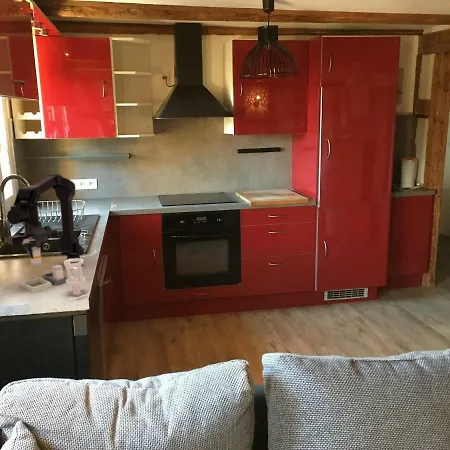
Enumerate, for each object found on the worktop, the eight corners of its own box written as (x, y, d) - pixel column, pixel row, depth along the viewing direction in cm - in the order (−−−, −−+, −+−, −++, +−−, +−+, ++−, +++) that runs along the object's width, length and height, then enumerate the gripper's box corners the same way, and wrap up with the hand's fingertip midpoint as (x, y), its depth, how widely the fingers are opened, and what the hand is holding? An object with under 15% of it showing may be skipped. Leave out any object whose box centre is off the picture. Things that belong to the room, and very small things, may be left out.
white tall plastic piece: (64, 297, 191) (59, 259, 188) (78, 291, 197) (74, 254, 193) (76, 300, 187) (71, 262, 184) (90, 294, 193) (86, 256, 189)
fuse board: (43, 281, 210) (42, 274, 209) (54, 278, 213) (53, 271, 212) (56, 288, 201) (55, 281, 200) (68, 284, 205) (67, 277, 204)
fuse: (53, 282, 205) (51, 266, 203) (60, 280, 207) (58, 264, 205) (57, 284, 202) (55, 268, 201) (64, 282, 204) (62, 266, 203)
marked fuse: (30, 264, 201) (28, 248, 199) (38, 263, 203) (36, 246, 201) (34, 266, 198) (33, 249, 197) (42, 264, 200) (40, 247, 199)
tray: (21, 288, 202) (21, 282, 202) (40, 283, 208) (40, 277, 207) (32, 294, 195) (31, 288, 195) (52, 288, 201) (51, 282, 200)
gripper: (16, 225, 185) (21, 266, 188) (63, 217, 198) (67, 256, 201) (4, 222, 192) (9, 261, 196) (50, 214, 205) (53, 251, 209)
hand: (35, 257), depth 200 cm, fingers closed on marked fuse, 3 cm apart
